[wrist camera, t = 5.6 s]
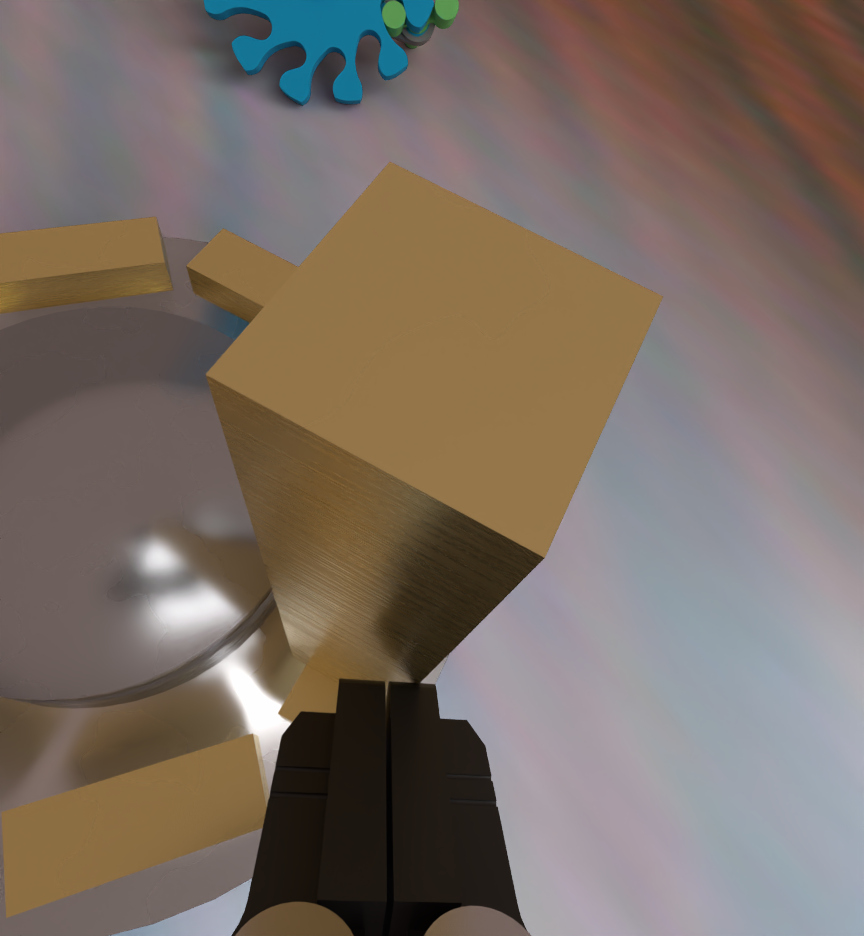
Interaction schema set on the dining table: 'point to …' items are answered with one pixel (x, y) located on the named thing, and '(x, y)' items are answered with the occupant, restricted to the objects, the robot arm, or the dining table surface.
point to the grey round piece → (128, 579)
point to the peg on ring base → (350, 464)
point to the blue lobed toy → (334, 36)
